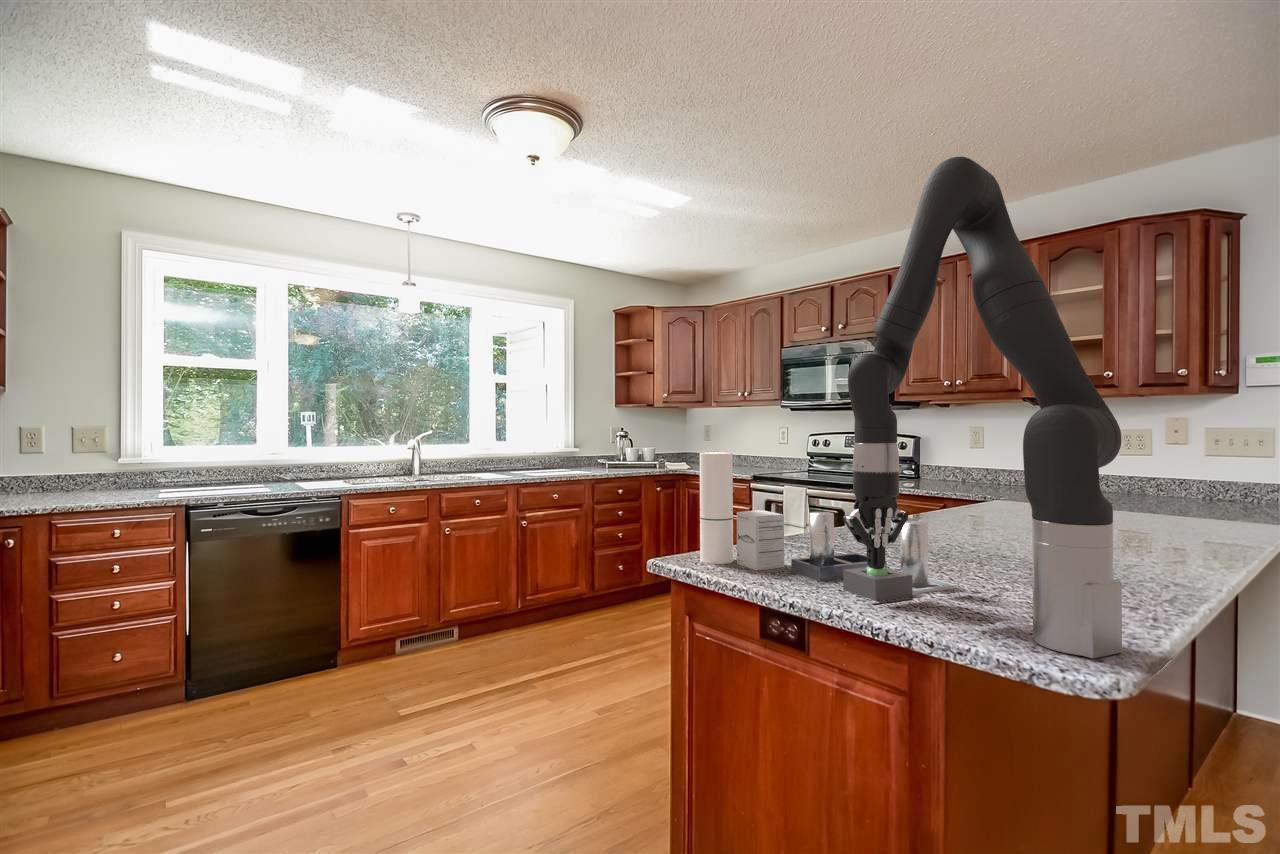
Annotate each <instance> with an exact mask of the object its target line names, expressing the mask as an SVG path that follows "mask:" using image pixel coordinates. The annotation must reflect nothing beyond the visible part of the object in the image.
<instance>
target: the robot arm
mask: <svg viewBox="0 0 1280 854" xmlns="http://www.w3.org/2000/svg"><path fill="white" fill-rule="evenodd" d="M923 186H924V187H923V189H922V191H921V194H920V197H919V201H918V205H917V209H916V212H915V214H914V215H915V216H914V220H913V224H912V226H911V229H910V233H909V236H908V237H909V238H908V239H907V244H906V247H905V250H904V254H903V256H902V260H901V263H900V266H899V269H898V272H897V275H896V277H895V280H894V282H893V285H892V287H891V290H890V292H889V294H888V295H887V298H886V301H885V302H884V304H883V307H882V309H881V311H880V313H879V316H878V317H877V320H876V323H875V325H874V329H873V330H874V335H875V336H876V338H877V340H876V342H875V346H874V349H873V351H872V353H864V354H860V355H858V356H857V357H856V358H855V359H854V360H853V361H852V362H851V364H850V366H849V369H848V372H847V373H848V375H847V388H848V394H849V400H850V405H851V410H852V413H853V416H854V430H853V431H854V446H853V455H852V458H853V459H852V469H853V470H852V475H853V476H852V480H853V481H852V483H853V484H852V485H853V487H852V489H853V490H852V493H853V494H854V496H855V502H854V504H853V511H852V512H851V513H850V514H849V515H848V514H847V515H844V516H843V517H842V521H843V522H844V524H845V525H846V527H847V529H848V530H849V531H850V533H851V535H852V536H853V538H854V539H855V541H856V542H857V543H859V544H863V545H864V546H866V547H865V548H866V556H867V564H868V565H869V567H870V568H874V569H882V568H884V565H885V561H886V548H887V546H888V544H891V543H892V544H894V543H895V542H896V540H897V539H898V537H899V536H900V532H901V530H902V528H903V527H904V525H905V523H906V521H909V515H908V513H905V512H902V511H901V510H900V509H899V504H898V502H897V497H898V496H899V495H900V456H899V455H900V453H899V448H898V419H897V415H896V413H895V411H894V410H892V409H891V405H890V398H889V397H890V396H889V395H890V394H892V393H893V392H895V391H896V390H897V389H898V387H900V385H901V384H902V382H903V380H904V379H905V376H906V373H907V371H908V368H909V364H910V361H911V356H912V354H913V353H912V352H913V348H914V343H915V341H916V339H917V337H918V335H919V333H920V331H921V329H922V327H923V324H924V323H925V320H926V319H927V316H928V315H929V312H930V309H931V307H932V304H933V301H934V297H935V296H936V295H935V294H936V290H937V284H938V277H939V270H940V265H941V261H942V260H941V259H942V256H943V252H944V249H945V246H946V243H947V241H948V239H949V236H950V234H951V232H952V231H954V234H955V235H956V236H957V238H958V241H959V242H960V243H961V246H962V247H963V249H964V251H965V254H966V255H967V257H968V261H969V264H970V272H971V287H972V288H971V289H972V296H973V301H974V304H975V308H976V309H977V312H978V314H979V317H980V319H981V321H982V323H983V326H984V328H985V331H986V333H987V335H988V336H989V338H990V341H991V342H992V343H993V344H994V346H995V347H996V348H997V350H998V351H999V352H1000V353H1001V355H1002V356H1003V357H1004V358H1005V359H1006V360H1007V362H1008V363H1010V364H1011V366H1013V368H1014V369H1015V370H1016V372H1017V373H1019V374H1020V376H1021V377H1022V378H1023V379H1024V380H1025V383H1027V384H1028V386H1029V387H1030V389H1031V391H1032V393H1033V395H1034V397H1035V399H1036V401H1037V404H1038V406H1039V410H1037V411H1036V412H1035V413H1034V414H1032V415H1031V416H1030V418H1029V420H1028V422H1027V423H1026V426H1025V428H1024V432H1023V439H1022V457H1023V458H1022V459H1023V474H1024V490H1025V494H1026V498H1027V500H1028V502H1029V505H1030V508H1031V517H1032V518H1031V532H1032V533H1031V535H1032V537H1031V545H1032V546H1031V547H1032V549H1031V550H1032V553H1031V558H1032V560H1031V562H1032V563H1031V564H1032V567H1031V568H1032V570H1031V571H1032V638H1033V641H1034V642H1035V643H1036V644H1038V645H1040V646H1042V647H1044V648H1047V649H1048V650H1049V649H1050V650H1053V651H1057V652H1061V653H1064V654H1069V655H1070V654H1071V655H1076V656H1083V657H1086V658H1090V659H1098V658H1102V657H1106V656H1107V657H1108V656H1112V655H1115V654H1120V653H1123V617H1122V615H1123V609H1122V606H1123V604H1122V602H1123V600H1122V596H1123V595H1122V594H1123V592H1122V582H1121V581H1120V580H1118V579H1114V578H1115V577H1114V507H1113V504H1112V503H1111V502H1110V501H1109V499H1107V498H1106V497H1105V496H1104V494H1103V492H1102V489H1101V485H1100V484H1101V483H1100V470H1099V469H1100V468H1103V467H1105V466H1107V465H1109V464H1111V463H1112V462H1113V461H1114V460H1115V459H1116V457H1117V456H1118V454H1119V453H1120V450H1121V446H1122V432H1121V427H1120V425H1119V423H1118V421H1117V419H1116V417H1115V416H1114V414H1113V413H1112V411H1111V409H1110V407H1109V406H1108V405H1107V404H1106V402H1105V400H1104V399H1103V397H1102V396H1101V393H1099V391H1098V389H1097V388H1096V386H1095V385H1094V384H1093V382H1092V380H1091V379H1090V377H1089V376H1088V374H1087V372H1086V369H1084V367H1083V365H1082V362H1081V361H1080V359H1079V356H1078V353H1077V352H1076V349H1075V347H1074V345H1073V341H1072V340H1071V338H1070V336H1069V334H1068V331H1067V329H1066V328H1065V325H1064V323H1063V321H1062V319H1061V316H1060V314H1059V313H1058V310H1057V307H1056V305H1055V303H1054V301H1053V298H1052V297H1051V295H1050V293H1049V290H1048V289H1047V286H1046V284H1045V282H1044V280H1043V279H1042V277H1041V275H1040V273H1039V271H1038V270H1037V268H1036V266H1035V264H1034V262H1033V261H1032V259H1031V257H1030V255H1029V253H1028V252H1027V250H1026V249H1025V247H1024V245H1023V244H1022V242H1020V239H1019V237H1018V235H1017V233H1016V231H1015V229H1014V226H1013V223H1012V221H1011V217H1010V215H1009V210H1008V209H1007V205H1006V202H1005V199H1004V195H1003V193H1002V190H1001V186H1000V184H999V182H998V181H997V179H996V178H995V176H994V175H993V174H992V173H991V172H989V170H987V169H986V168H984V167H983V166H981V165H980V164H979V163H978V162H976V161H974V160H973V159H971V158H969V157H966V156H953V157H949V158H948V159H945V160H944V161H942V162H941V163H939V164H938V165H937V166H936V167H935V168H934V169H933V170H932V171H931V172H930V174H929V176H928V177H927V179H926V181H925V182H924V185H923Z"/></svg>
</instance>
